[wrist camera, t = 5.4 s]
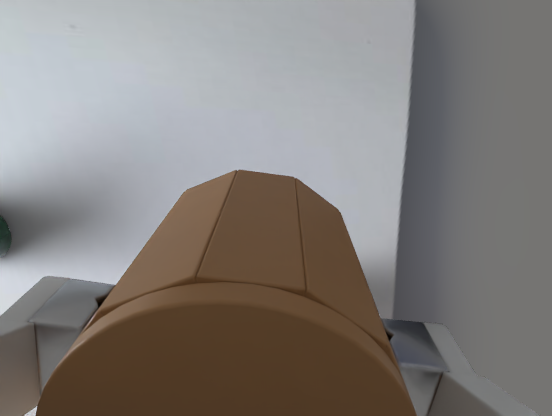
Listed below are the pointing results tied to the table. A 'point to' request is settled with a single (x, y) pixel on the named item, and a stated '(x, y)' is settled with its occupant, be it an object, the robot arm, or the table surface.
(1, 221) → the bottle
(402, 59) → the table surface
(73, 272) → the table surface
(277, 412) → the brown cylinder
